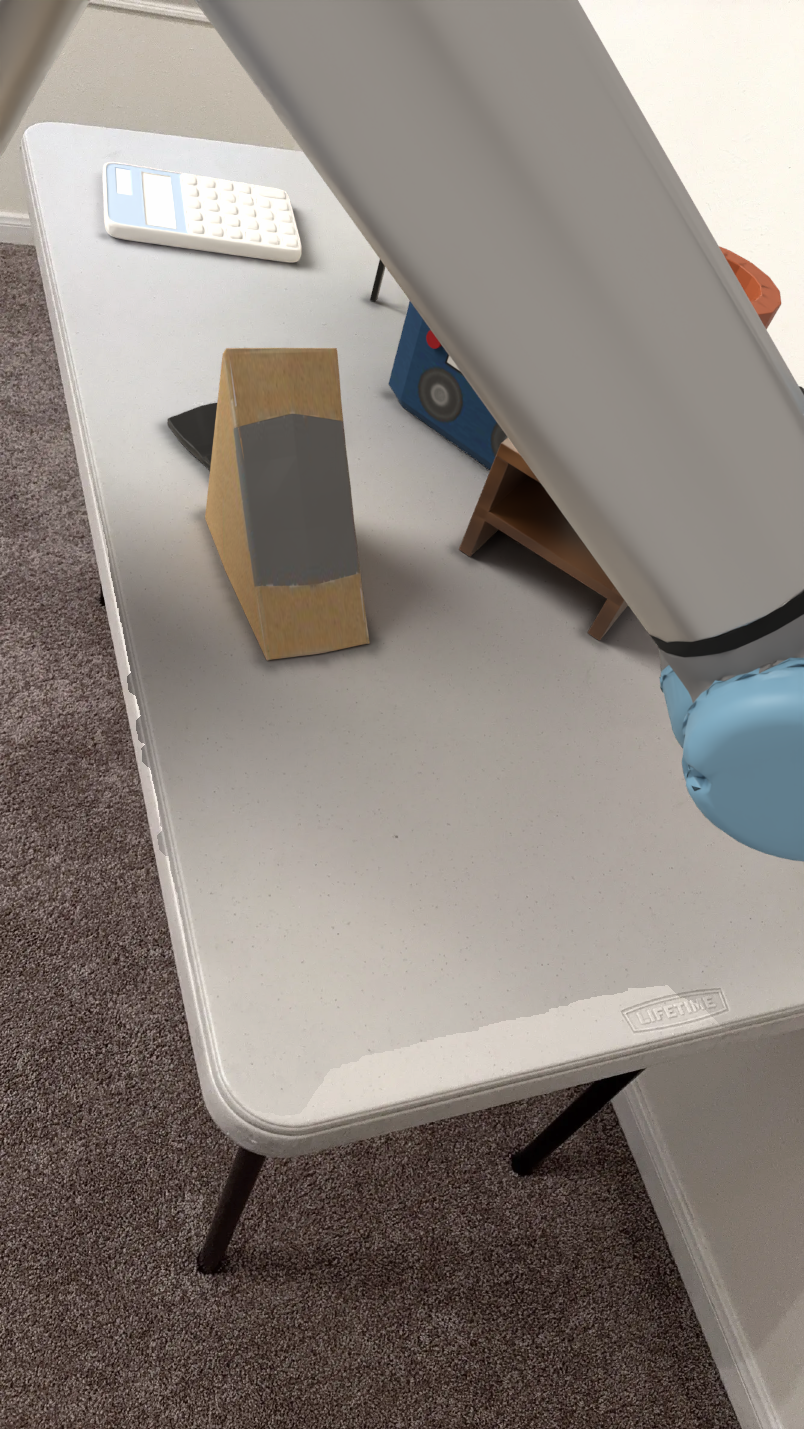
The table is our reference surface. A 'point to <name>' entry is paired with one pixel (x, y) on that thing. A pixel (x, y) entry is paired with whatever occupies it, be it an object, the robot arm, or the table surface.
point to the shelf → (537, 529)
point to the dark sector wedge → (196, 431)
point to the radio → (441, 392)
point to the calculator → (199, 213)
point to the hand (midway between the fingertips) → (670, 314)
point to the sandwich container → (286, 500)
